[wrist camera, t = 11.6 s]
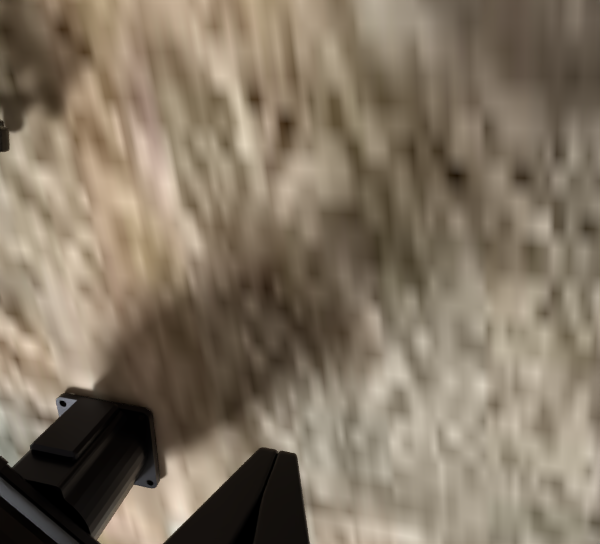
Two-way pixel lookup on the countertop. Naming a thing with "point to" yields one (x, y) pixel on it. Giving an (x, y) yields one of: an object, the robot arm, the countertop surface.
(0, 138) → the valve
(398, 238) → the countertop surface
